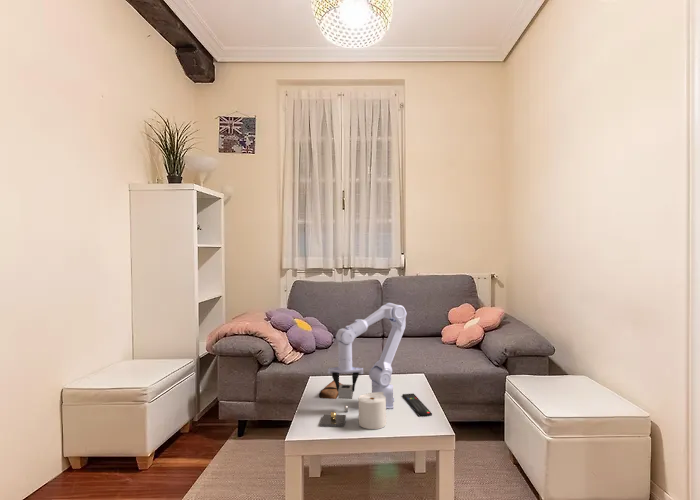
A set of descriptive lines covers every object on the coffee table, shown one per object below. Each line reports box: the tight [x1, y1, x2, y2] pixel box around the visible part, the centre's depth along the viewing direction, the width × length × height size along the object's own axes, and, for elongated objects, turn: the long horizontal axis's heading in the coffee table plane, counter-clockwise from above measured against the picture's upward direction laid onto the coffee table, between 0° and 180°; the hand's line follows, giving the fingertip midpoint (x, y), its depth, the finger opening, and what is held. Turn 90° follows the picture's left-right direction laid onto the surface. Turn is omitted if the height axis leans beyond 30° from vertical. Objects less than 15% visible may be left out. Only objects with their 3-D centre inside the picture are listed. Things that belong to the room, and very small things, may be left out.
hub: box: [319, 411, 347, 428], centre depth 166 cm, size 9×9×4 cm
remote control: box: [402, 392, 433, 418], centre depth 181 cm, size 5×24×1 cm, turn 9°
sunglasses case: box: [318, 379, 342, 400], centre depth 199 cm, size 18×7×7 cm
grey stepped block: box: [337, 383, 354, 400], centre depth 175 cm, size 6×6×4 cm
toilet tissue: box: [358, 392, 387, 430], centre depth 164 cm, size 11×12×10 cm
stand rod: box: [343, 404, 349, 413], centre depth 175 cm, size 1×1×2 cm
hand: (345, 390), depth 175 cm, fingers closed on grey stepped block, 6 cm apart
